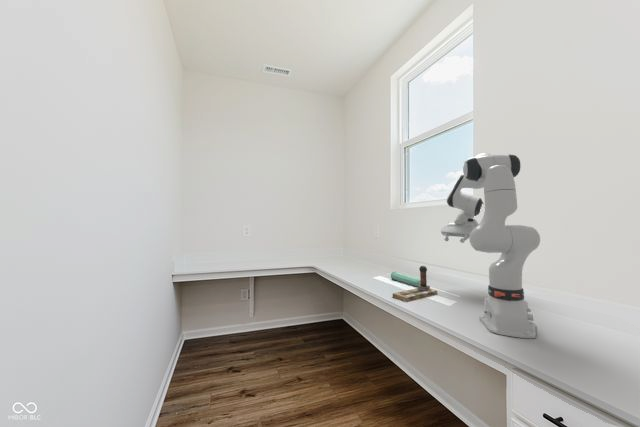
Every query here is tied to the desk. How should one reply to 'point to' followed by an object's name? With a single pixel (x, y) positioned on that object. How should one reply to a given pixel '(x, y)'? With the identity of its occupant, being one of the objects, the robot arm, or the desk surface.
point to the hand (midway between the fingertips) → (453, 241)
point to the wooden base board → (413, 294)
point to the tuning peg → (423, 279)
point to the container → (405, 279)
